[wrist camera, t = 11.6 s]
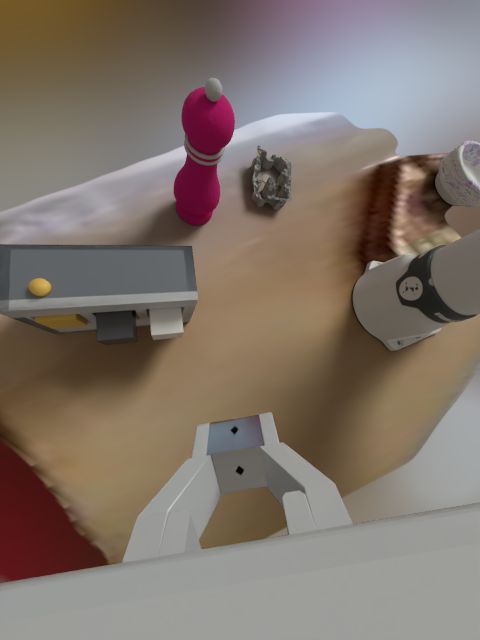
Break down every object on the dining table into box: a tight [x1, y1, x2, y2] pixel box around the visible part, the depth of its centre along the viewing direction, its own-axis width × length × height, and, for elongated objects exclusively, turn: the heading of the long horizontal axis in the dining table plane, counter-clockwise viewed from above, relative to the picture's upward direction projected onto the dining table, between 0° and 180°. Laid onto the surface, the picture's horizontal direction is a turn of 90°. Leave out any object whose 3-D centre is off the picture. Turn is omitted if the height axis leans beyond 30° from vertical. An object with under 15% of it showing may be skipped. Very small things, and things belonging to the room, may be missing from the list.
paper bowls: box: [435, 141, 480, 208], centre depth 62 cm, size 15×15×8 cm
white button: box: [149, 307, 184, 340], centre depth 30 cm, size 4×4×4 cm
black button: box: [96, 310, 138, 345], centre depth 29 cm, size 4×4×4 cm
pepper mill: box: [174, 78, 235, 225], centre depth 33 cm, size 7×7×20 cm
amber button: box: [35, 314, 88, 329], centre depth 28 cm, size 4×4×4 cm
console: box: [0, 244, 198, 333], centre depth 30 cm, size 18×6×13 cm, turn 99°
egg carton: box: [251, 146, 291, 210], centre depth 47 cm, size 11×8×4 cm
